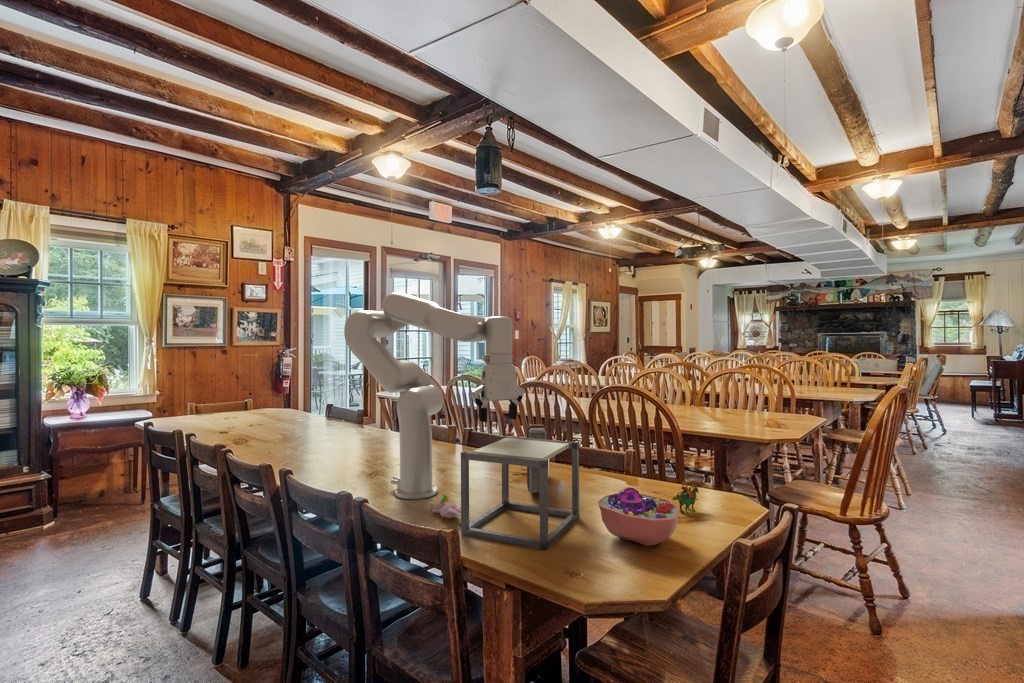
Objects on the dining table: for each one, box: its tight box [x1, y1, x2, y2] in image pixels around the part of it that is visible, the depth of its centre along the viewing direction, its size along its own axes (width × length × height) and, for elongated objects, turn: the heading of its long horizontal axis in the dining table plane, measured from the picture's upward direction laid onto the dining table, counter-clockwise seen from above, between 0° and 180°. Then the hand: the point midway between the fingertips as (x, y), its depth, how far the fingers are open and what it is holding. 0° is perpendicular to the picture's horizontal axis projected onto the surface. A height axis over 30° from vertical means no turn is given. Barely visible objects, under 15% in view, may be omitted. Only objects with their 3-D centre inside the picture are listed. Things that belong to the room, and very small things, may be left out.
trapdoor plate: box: [471, 438, 569, 461], centre depth 130 cm, size 18×19×1 cm
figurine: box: [671, 481, 699, 515], centre depth 139 cm, size 3×12×8 cm, turn 128°
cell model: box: [597, 487, 680, 547], centre depth 121 cm, size 17×20×11 cm
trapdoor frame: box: [460, 435, 580, 551], centre depth 130 cm, size 22×23×20 cm
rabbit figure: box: [429, 494, 461, 519], centre depth 137 cm, size 6×6×15 cm
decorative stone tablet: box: [526, 424, 549, 493], centre depth 166 cm, size 19×6×30 cm
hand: (498, 420), depth 149 cm, fingers open, 9 cm apart
